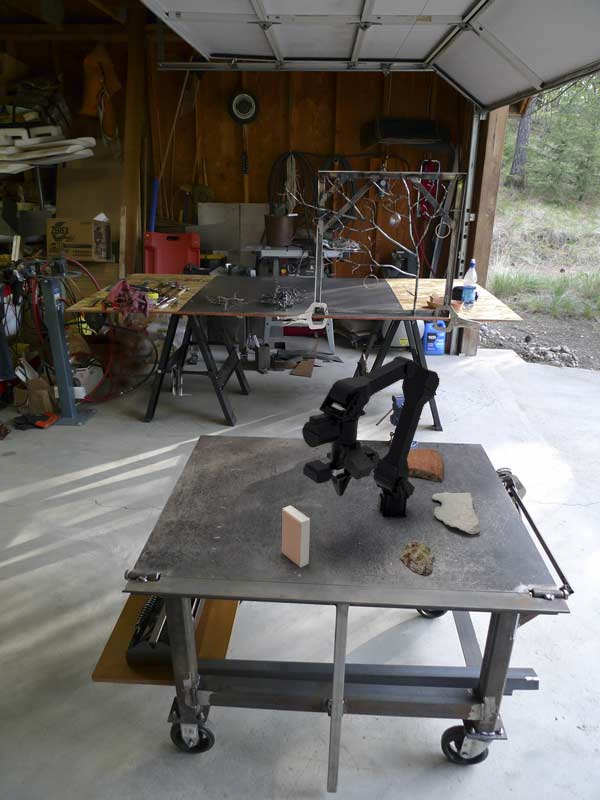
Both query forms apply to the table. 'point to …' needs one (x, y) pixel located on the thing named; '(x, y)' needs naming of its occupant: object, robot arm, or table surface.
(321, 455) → the table surface
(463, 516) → the stone
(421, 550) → the mineral rock
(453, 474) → the table surface
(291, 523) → the tile
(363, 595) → the table surface
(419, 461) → the ceramic shard
